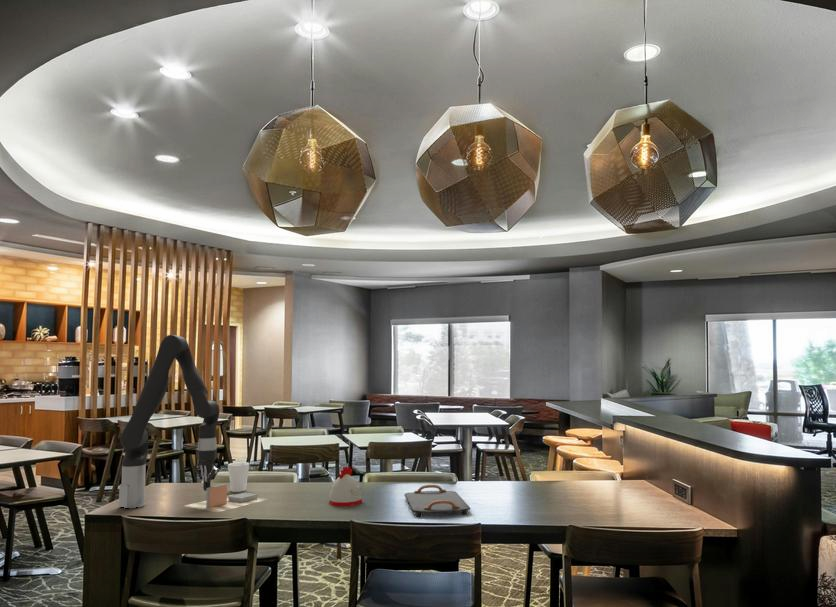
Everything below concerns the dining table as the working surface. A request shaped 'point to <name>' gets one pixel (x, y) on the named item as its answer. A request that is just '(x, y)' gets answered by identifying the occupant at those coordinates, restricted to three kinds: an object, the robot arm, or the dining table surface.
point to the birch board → (223, 507)
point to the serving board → (435, 501)
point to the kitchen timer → (345, 490)
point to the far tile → (242, 497)
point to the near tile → (216, 495)
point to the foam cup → (238, 476)
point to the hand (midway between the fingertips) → (206, 490)
